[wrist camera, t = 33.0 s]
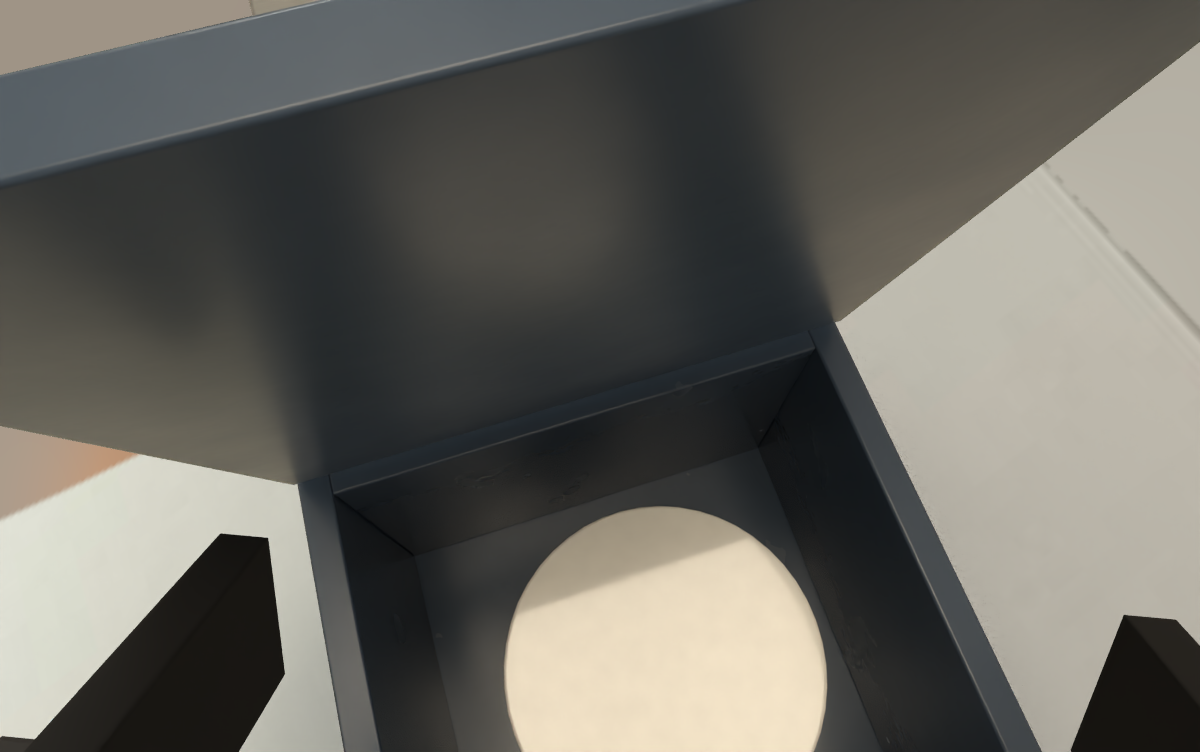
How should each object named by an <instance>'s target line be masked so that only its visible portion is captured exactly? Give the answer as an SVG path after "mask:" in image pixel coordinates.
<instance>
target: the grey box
mask: <svg viewBox="0 0 1200 752" xmlns="http://www.w3.org/2000/svg"><path fill="white" fill-rule="evenodd" d="M298 490H299V495H300V501H301V507H302V513H303V518H304V524H305V530H306V536H307V541H308V547H309V553H310V558H311V564H312V570H313V576H314V581H315V587H316V593H317V599H318V604H319V610H320V616H321V621H322V627H323V633H324V639H325V644H326V650H327V656H328V662H329V667H330V673H331V679H332V685H333V690H334V696H335V702H336V707H337V713H338V719H339V725H340V730H341V736H342V742H343V748H344V752H521V751H520V748H519V746H518V744H517V741H516V739H515V736H514V734H513V730H512V727H511V723H510V720H509V716H508V712H507V706H506V699H505V693H504V669H503V665H504V656H505V646H506V640H507V636H508V631H509V627H510V623H511V620H512V617H513V614H514V612H515V609H516V606H517V603H518V601H519V599H520V597H521V595H522V593H523V591H524V589H525V587H526V585H527V583H528V582H529V580H530V579H531V577H532V576H533V574H534V573H535V572H536V570H537V569H538V567H539V566H540V565H541V563H542V562H543V561H544V560H545V559H546V558H547V557H548V556H549V554H550V553H551V552H552V551H553V550H554V549H555V548H556V547H558V546H559V545H560V544H561V543H562V542H563V541H564V540H566V539H567V538H568V537H569V536H571V535H572V534H574V533H575V532H577V531H578V530H580V529H581V528H583V527H584V526H586V525H588V524H590V523H592V522H594V521H596V520H598V519H600V518H602V517H605V516H608V515H611V514H614V513H617V512H620V511H624V510H629V509H634V508H638V507H650V506H671V507H682V508H687V509H693V510H698V511H701V512H704V513H707V514H710V515H714V516H717V517H719V518H721V519H723V520H725V521H728V522H730V523H732V524H734V525H736V526H738V527H739V528H741V529H742V530H744V531H746V532H747V533H749V534H750V535H752V536H753V537H755V538H756V539H757V540H758V541H760V542H761V543H762V544H763V545H764V546H766V547H767V548H768V549H769V550H770V551H771V552H772V553H773V554H774V555H775V556H776V557H777V558H778V559H779V560H780V561H781V562H782V563H783V564H784V565H785V567H786V568H787V569H788V571H789V572H790V573H791V575H792V576H793V577H794V579H795V580H796V581H797V583H798V585H799V586H800V588H801V590H802V592H803V593H804V595H805V597H806V598H807V600H808V602H809V605H810V607H811V609H812V612H813V614H814V616H815V619H816V621H817V624H818V628H819V631H820V635H821V638H822V641H823V647H824V653H825V658H826V664H827V686H828V688H827V700H826V711H825V716H824V721H823V725H822V730H821V734H820V737H819V740H818V743H817V745H816V748H815V751H814V752H1042V751H1041V749H1040V747H1039V745H1038V743H1037V741H1036V739H1035V737H1034V735H1033V733H1032V730H1031V728H1030V726H1029V724H1028V722H1027V720H1026V718H1025V716H1024V714H1023V712H1022V710H1021V708H1020V706H1019V703H1018V701H1017V699H1016V697H1015V695H1014V693H1013V691H1012V689H1011V687H1010V685H1009V683H1008V681H1007V679H1006V677H1005V674H1004V672H1003V670H1002V668H1001V666H1000V664H999V662H998V660H997V658H996V656H995V654H994V652H993V650H992V647H991V645H990V643H989V641H988V639H987V637H986V635H985V633H984V631H983V629H982V627H981V625H980V623H979V621H978V618H977V616H976V614H975V612H974V610H973V608H972V606H971V604H970V602H969V600H968V598H967V596H966V594H965V592H964V589H963V587H962V585H961V583H960V581H959V579H958V577H957V575H956V573H955V571H954V569H953V567H952V565H951V562H950V560H949V558H948V556H947V554H946V552H945V550H944V548H943V546H942V544H941V542H940V540H939V538H938V536H937V533H936V531H935V529H934V527H933V525H932V523H931V521H930V519H929V517H928V515H927V513H926V511H925V509H924V506H923V504H922V502H921V500H920V498H919V496H918V494H917V492H916V490H915V488H914V486H913V484H912V482H911V480H910V477H909V475H908V473H907V471H906V469H905V467H904V465H903V463H902V461H901V459H900V457H899V455H898V453H897V451H896V448H895V446H894V444H893V442H892V440H891V438H890V436H889V434H888V432H887V430H886V428H885V426H884V424H883V421H882V419H881V417H880V415H879V413H878V411H877V409H876V407H875V405H874V403H873V401H872V399H871V397H870V395H869V392H868V390H867V388H866V386H865V384H864V382H863V380H862V378H861V376H860V374H859V372H858V370H857V368H856V365H855V363H854V361H853V359H852V357H851V355H850V353H849V351H848V349H847V347H846V345H845V343H844V341H843V339H842V336H841V334H840V332H839V330H838V328H837V326H836V324H835V322H834V323H831V324H828V325H824V326H821V327H818V328H814V329H811V330H808V331H804V332H801V333H798V334H794V335H791V336H788V337H784V338H781V339H778V340H774V341H771V342H768V343H764V344H761V345H758V346H754V347H751V348H748V349H744V350H741V351H738V352H734V353H731V354H728V355H724V356H721V357H718V358H714V359H711V360H708V361H704V362H701V363H698V364H694V365H691V366H688V367H684V368H681V369H678V370H674V371H671V372H668V373H664V374H661V375H658V376H654V377H651V378H648V379H644V380H641V381H638V382H634V383H631V384H628V385H624V386H621V387H618V388H614V389H611V390H608V391H604V392H601V393H598V394H594V395H591V396H588V397H584V398H581V399H578V400H574V401H571V402H568V403H564V404H561V405H558V406H554V407H551V408H548V409H544V410H541V411H538V412H534V413H531V414H528V415H524V416H521V417H518V418H514V419H511V420H508V421H504V422H501V423H498V424H494V425H491V426H488V427H484V428H481V429H478V430H474V431H471V432H468V433H464V434H461V435H458V436H454V437H451V438H448V439H444V440H441V441H438V442H434V443H431V444H428V445H424V446H421V447H418V448H414V449H411V450H408V451H404V452H401V453H398V454H394V455H391V456H388V457H384V458H381V459H378V460H374V461H371V462H368V463H364V464H361V465H358V466H355V467H351V468H348V469H345V470H341V471H338V472H335V473H331V474H328V475H325V476H321V477H318V478H315V479H311V480H308V481H305V482H301V483H298Z"/></svg>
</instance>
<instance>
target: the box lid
mask: <svg viewBox="0 0 1200 752" xmlns="http://www.w3.org/2000/svg"><path fill="white" fill-rule="evenodd" d="M249 3H250V7H251V11H252V15H253V16H250V17H246V18H242V19H237V20H233V21H229V22H225V23H220V24H216V25H212V26H207V27H203V28H199V29H195V30H190V31H186V32H182V33H178V34H173V35H169V36H165V37H161V38H156V39H153V40H148V41H144V42H139V43H135V44H131V45H127V46H123V47H118V48H114V49H110V50H106V51H101V52H97V53H93V54H88V55H84V56H80V57H76V58H72V59H67V60H63V61H59V62H55V63H50V64H46V65H41V66H37V67H33V68H29V69H25V70H20V71H16V72H12V73H8V74H4V75H0V426H3V427H8V428H13V429H18V430H23V431H28V432H33V433H38V434H43V435H47V436H52V437H58V438H62V439H68V440H72V441H78V442H82V443H88V444H93V445H97V446H103V447H107V448H112V449H117V450H123V451H127V452H132V453H137V454H142V455H147V456H152V457H157V458H162V459H167V460H172V461H177V462H182V463H187V464H192V465H197V466H202V467H207V468H212V469H217V470H222V471H227V472H232V473H237V474H242V475H247V476H252V477H257V478H262V479H267V480H272V481H277V482H282V483H287V484H292V485H295V484H298V483H301V482H305V481H308V480H311V479H315V478H318V477H321V476H325V475H328V474H331V473H335V472H338V471H341V470H345V469H348V468H351V467H355V466H358V465H361V464H364V463H368V462H371V461H374V460H378V459H381V458H384V457H388V456H391V455H394V454H398V453H401V452H404V451H408V450H411V449H414V448H418V447H421V446H424V445H428V444H431V443H434V442H438V441H441V440H444V439H448V438H451V437H454V436H458V435H461V434H464V433H468V432H471V431H474V430H478V429H481V428H484V427H488V426H491V425H494V424H498V423H501V422H504V421H508V420H511V419H514V418H518V417H521V416H524V415H528V414H531V413H534V412H538V411H541V410H544V409H548V408H551V407H554V406H558V405H561V404H564V403H568V402H571V401H574V400H578V399H581V398H584V397H588V396H591V395H594V394H598V393H601V392H604V391H608V390H611V389H614V388H618V387H621V386H624V385H628V384H631V383H634V382H638V381H641V380H644V379H648V378H651V377H654V376H658V375H661V374H664V373H668V372H671V371H674V370H678V369H681V368H684V367H688V366H691V365H694V364H698V363H701V362H704V361H708V360H711V359H714V358H718V357H721V356H724V355H728V354H731V353H734V352H738V351H741V350H744V349H748V348H751V347H754V346H758V345H761V344H764V343H768V342H771V341H774V340H778V339H781V338H784V337H788V336H791V335H794V334H798V333H801V332H804V331H808V330H811V329H814V328H818V327H821V326H824V325H828V324H831V323H834V322H838V321H841V320H842V319H843V318H845V317H846V316H847V315H848V314H850V313H851V312H852V311H854V310H855V309H856V308H857V307H859V306H860V305H861V304H863V303H864V302H865V301H867V300H868V299H869V298H870V297H872V296H873V295H874V294H876V293H877V292H878V291H879V290H881V289H882V288H883V287H885V286H886V285H887V284H888V283H890V282H891V281H892V280H894V279H895V278H896V277H897V276H899V275H900V274H901V273H903V272H904V271H905V270H906V269H908V268H909V267H910V266H912V265H913V264H914V263H915V262H917V261H918V260H919V259H921V258H922V257H923V256H924V255H926V254H927V253H928V252H930V251H931V250H932V249H933V248H935V247H936V246H937V245H939V244H940V243H941V242H943V241H944V240H945V239H946V238H948V237H949V236H950V235H952V234H953V233H954V232H955V231H957V230H958V229H959V228H961V227H962V226H963V225H964V224H966V223H967V222H968V221H970V220H971V219H972V218H973V217H975V216H976V215H977V214H979V213H980V212H981V211H982V210H984V209H985V208H986V207H988V206H989V205H990V204H991V203H993V202H994V201H995V200H997V199H998V198H999V197H1000V196H1002V195H1003V194H1004V193H1006V192H1007V191H1008V190H1009V189H1011V188H1012V187H1013V186H1015V185H1016V184H1017V183H1019V182H1020V181H1021V180H1022V179H1024V178H1025V177H1026V176H1028V175H1029V174H1030V173H1031V172H1033V171H1034V170H1035V169H1037V168H1038V167H1039V166H1040V165H1042V164H1043V163H1044V162H1046V161H1047V160H1048V159H1049V158H1051V157H1052V156H1053V155H1055V154H1056V153H1057V152H1058V151H1060V150H1061V149H1062V148H1063V147H1065V146H1066V145H1067V144H1069V143H1070V142H1071V141H1072V140H1074V139H1075V138H1076V137H1077V136H1079V135H1080V134H1082V133H1083V132H1084V131H1085V130H1087V129H1088V128H1089V127H1091V126H1092V125H1093V124H1094V123H1096V122H1097V121H1098V120H1100V119H1101V118H1102V117H1104V116H1105V115H1106V114H1107V113H1109V112H1110V111H1111V110H1113V109H1114V108H1115V107H1116V106H1118V105H1119V104H1120V103H1122V102H1123V101H1124V100H1125V99H1127V98H1128V97H1129V96H1131V95H1132V94H1133V93H1134V92H1136V91H1137V90H1138V89H1140V88H1141V87H1142V86H1143V85H1145V84H1146V83H1147V82H1149V81H1150V80H1151V79H1152V78H1154V77H1155V76H1156V75H1158V74H1159V73H1160V72H1161V71H1163V70H1164V69H1165V68H1167V67H1168V66H1169V65H1171V64H1172V63H1173V62H1174V61H1176V60H1177V59H1178V58H1180V57H1181V56H1182V55H1183V54H1185V53H1186V52H1187V51H1189V50H1190V49H1191V48H1192V47H1193V46H1195V45H1196V44H1198V43H1199V42H1200V0H249Z"/></svg>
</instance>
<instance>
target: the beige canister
mask: <svg viewBox="0 0 1200 752" xmlns="http://www.w3.org/2000/svg"><path fill="white" fill-rule="evenodd" d="M503 669H504V693H505V699H506V706H507V712H508V716H509V720H510V723H511V727H512V730H513V734H514V736H515V739H516V741H517V744H518V746H519V748H520V751H521V752H814V751H815V748H816V745H817V743H818V740H819V737H820V734H821V730H822V725H823V721H824V716H825V711H826V700H827V688H828V686H827V664H826V658H825V653H824V647H823V641H822V638H821V635H820V631H819V628H818V624H817V621H816V619H815V616H814V614H813V612H812V609H811V607H810V605H809V602H808V600H807V598H806V597H805V595H804V593H803V592H802V590H801V588H800V586H799V585H798V583H797V581H796V580H795V579H794V577H793V576H792V575H791V573H790V572H789V571H788V569H787V568H786V567H785V565H784V564H783V563H782V562H781V561H780V560H779V559H778V558H777V557H776V556H775V555H774V554H773V553H772V552H771V551H770V550H769V549H768V548H767V547H766V546H764V545H763V544H762V543H761V542H760V541H758V540H757V539H756V538H755V537H753V536H752V535H750V534H749V533H747V532H746V531H744V530H742V529H741V528H739V527H738V526H736V525H734V524H732V523H730V522H728V521H725V520H723V519H721V518H719V517H717V516H714V515H710V514H707V513H704V512H701V511H698V510H693V509H687V508H682V507H671V506H650V507H638V508H634V509H629V510H624V511H620V512H617V513H614V514H611V515H608V516H605V517H602V518H600V519H598V520H596V521H594V522H592V523H590V524H588V525H586V526H584V527H583V528H581V529H580V530H578V531H577V532H575V533H574V534H572V535H571V536H569V537H568V538H567V539H566V540H564V541H563V542H562V543H561V544H560V545H559V546H558V547H556V548H555V549H554V550H553V551H552V552H551V553H550V554H549V556H548V557H547V558H546V559H545V560H544V561H543V562H542V563H541V565H540V566H539V567H538V569H537V570H536V572H535V573H534V574H533V576H532V577H531V579H530V580H529V582H528V583H527V585H526V587H525V589H524V591H523V593H522V595H521V597H520V599H519V601H518V603H517V606H516V609H515V612H514V614H513V617H512V620H511V623H510V627H509V631H508V636H507V640H506V646H505V656H504V665H503Z"/></svg>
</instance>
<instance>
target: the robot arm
mask: <svg viewBox="0 0 1200 752" xmlns="http://www.w3.org/2000/svg"><path fill="white" fill-rule="evenodd" d="M284 675H285V671H284V663H283V655H282V646H281V638H280V630H279V622H278V614H277V606H276V598H275V590H274V582H273V574H272V565H271V557H270V549H269V541H268V538H263V537H252V536H241V535H230V534H220V535H219V536H218V537H217V538H216V539H215V540H214V541H213V542H212V543H211V545H210V546H209V547H208V548H207V549H206V550H205V551H204V552H203V553H202V555H201V556H200V557H199V558H198V559H197V560H196V561H195V562H194V563H193V565H192V566H191V567H190V568H189V569H188V570H187V571H186V572H185V573H184V575H183V576H182V577H181V578H180V579H179V580H178V581H177V582H176V583H175V584H174V586H173V587H172V588H171V589H170V590H169V591H168V592H167V593H166V594H165V596H164V597H163V598H162V599H161V600H160V601H159V602H158V603H157V604H156V606H155V607H154V608H153V609H152V610H151V611H150V612H149V613H148V614H147V616H146V617H145V618H144V619H143V620H142V621H141V622H140V623H139V624H138V626H137V627H136V628H135V629H134V630H133V631H132V632H131V633H130V634H129V636H128V637H127V638H126V639H125V640H124V641H123V642H122V643H121V644H120V646H119V647H118V648H117V649H116V650H115V651H114V652H113V653H112V654H111V655H110V657H109V658H108V659H107V660H106V661H105V662H104V663H103V664H102V665H101V667H100V668H99V669H98V670H97V671H96V672H95V673H94V674H93V675H92V677H91V678H90V679H89V680H88V681H87V682H86V683H85V684H84V685H83V687H82V688H81V689H80V690H79V691H78V692H77V693H76V694H75V695H74V697H73V698H72V699H71V700H70V701H69V702H68V703H67V704H66V705H65V707H64V708H63V709H62V710H61V711H60V712H59V713H58V714H57V715H56V716H55V718H54V719H53V720H52V721H51V722H50V723H49V724H48V725H47V726H46V728H45V729H44V730H43V731H42V732H41V733H40V734H39V735H38V736H37V738H36V739H25V738H15V737H5V736H2V737H1V738H0V752H239V750H240V749H241V747H242V745H243V744H244V742H245V740H246V739H247V737H248V735H249V734H250V732H251V730H252V729H253V727H254V725H255V723H256V722H257V720H258V718H259V717H260V715H261V713H262V712H263V710H264V708H265V707H266V705H267V703H268V702H269V700H270V698H271V697H272V695H273V693H274V692H275V690H276V688H277V687H278V685H279V683H280V682H281V680H282V678H283V676H284ZM1071 752H1200V646H1199V644H1198V643H1197V642H1196V641H1195V640H1194V639H1193V638H1192V637H1191V636H1190V635H1189V633H1188V632H1187V631H1186V630H1185V629H1184V628H1183V627H1182V626H1181V625H1180V624H1179V622H1178V621H1177V620H1173V619H1162V618H1151V617H1140V616H1128V615H1124V616H1123V619H1122V621H1121V624H1120V626H1119V629H1118V631H1117V634H1116V636H1115V639H1114V641H1113V644H1112V647H1111V649H1110V652H1109V654H1108V657H1107V659H1106V662H1105V664H1104V667H1103V669H1102V672H1101V674H1100V677H1099V680H1098V682H1097V685H1096V687H1095V690H1094V692H1093V695H1092V697H1091V700H1090V702H1089V705H1088V707H1087V710H1086V713H1085V715H1084V718H1083V720H1082V723H1081V725H1080V728H1079V730H1078V733H1077V735H1076V738H1075V741H1074V743H1073V746H1072V748H1071Z"/></svg>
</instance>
